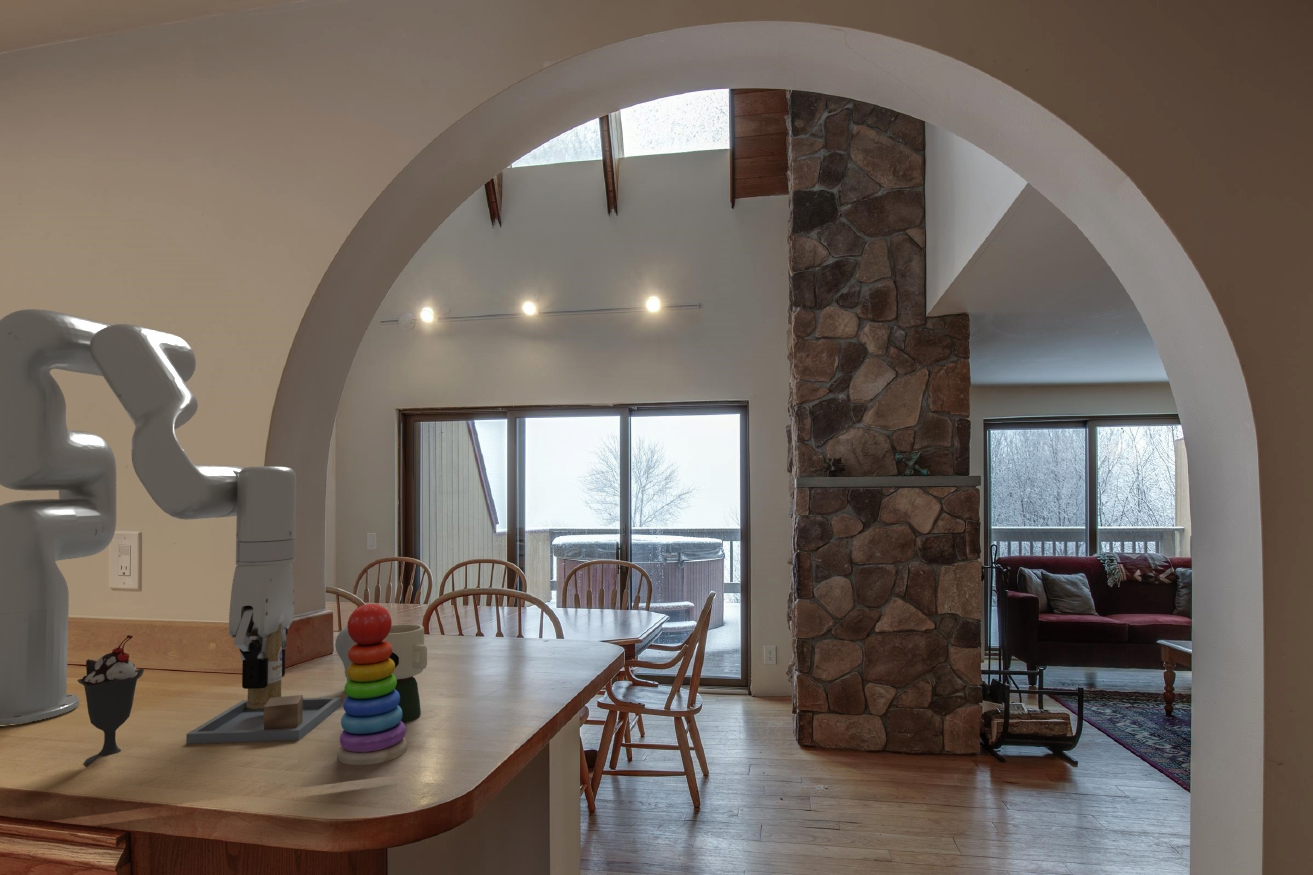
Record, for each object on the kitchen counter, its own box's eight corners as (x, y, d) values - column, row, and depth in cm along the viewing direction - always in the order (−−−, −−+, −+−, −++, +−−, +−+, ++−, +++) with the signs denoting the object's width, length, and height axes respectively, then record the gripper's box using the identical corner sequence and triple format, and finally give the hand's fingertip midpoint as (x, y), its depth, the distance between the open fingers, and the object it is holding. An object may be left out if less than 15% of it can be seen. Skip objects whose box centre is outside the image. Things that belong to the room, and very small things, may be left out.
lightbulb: (340, 701, 112) (340, 628, 112) (331, 692, 117) (331, 622, 117) (381, 693, 116) (381, 623, 116) (370, 685, 120) (370, 617, 121)
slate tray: (186, 749, 93) (186, 733, 93) (243, 713, 107) (243, 699, 107) (298, 746, 93) (298, 730, 93) (340, 710, 107) (340, 697, 107)
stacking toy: (373, 742, 94) (374, 596, 95) (421, 751, 91) (421, 600, 92) (322, 765, 87) (323, 607, 88) (372, 776, 84) (372, 611, 85)
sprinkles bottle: (284, 706, 102) (285, 609, 103) (247, 712, 100) (248, 613, 100) (280, 698, 106) (281, 605, 107) (244, 703, 104) (245, 608, 104)
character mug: (349, 724, 101) (349, 630, 102) (389, 709, 107) (390, 620, 108) (405, 737, 96) (405, 637, 97) (444, 720, 102) (444, 627, 103)
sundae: (147, 757, 90) (150, 635, 91) (79, 774, 85) (82, 644, 86) (137, 744, 95) (140, 627, 96) (72, 758, 90) (75, 636, 91)
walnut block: (263, 738, 94) (263, 706, 94) (269, 728, 98) (270, 697, 98) (297, 734, 95) (298, 703, 96) (302, 724, 99) (302, 694, 99)
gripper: (267, 547, 112) (265, 667, 111) (205, 560, 95) (202, 701, 95) (317, 546, 113) (315, 666, 112) (264, 559, 96) (262, 700, 95)
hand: (264, 681), depth 103 cm, fingers closed on sprinkles bottle, 4 cm apart
